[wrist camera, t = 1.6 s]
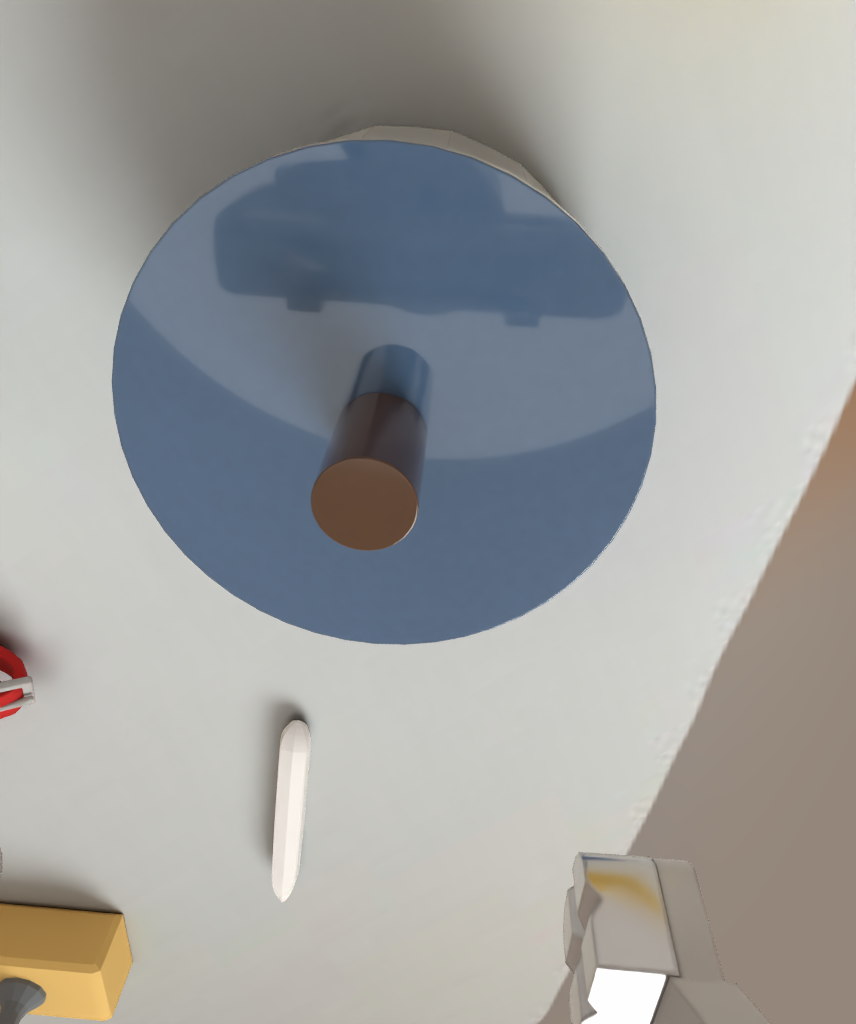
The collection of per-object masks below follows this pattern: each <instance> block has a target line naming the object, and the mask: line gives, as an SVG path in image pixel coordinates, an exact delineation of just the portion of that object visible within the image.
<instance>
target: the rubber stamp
mask: <svg viewBox="0 0 856 1024" xmlns="http://www.w3.org/2000/svg"><path fill="white" fill-rule="evenodd" d="M132 962H133V961H132V956H131V951H130V946H129V941H128V936H127V931H126V927H125V922H124V917H123V915H122V914H111V913H100V912H89V911H78V910H67V909H56V908H46V907H35V906H24V905H13V904H2V903H0V1024H19V1022H20V1020H21V1019H22V1018H23V1017H24V1016H25V1015H26V1014H35V1015H46V1016H56V1017H67V1018H78V1019H89V1020H100V1021H105V1020H107V1019H110V1018H112V1016H113V1013H114V1011H115V1008H116V1005H117V1003H118V1000H119V997H120V995H121V992H122V989H123V987H124V984H125V981H126V979H127V976H128V973H129V970H130V968H131V965H132Z"/></svg>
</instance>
